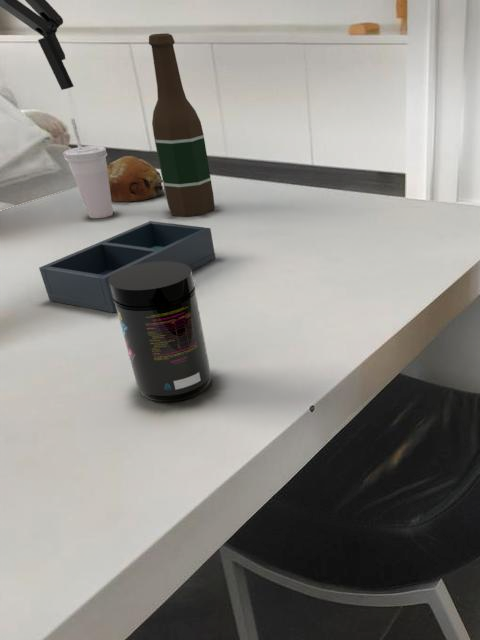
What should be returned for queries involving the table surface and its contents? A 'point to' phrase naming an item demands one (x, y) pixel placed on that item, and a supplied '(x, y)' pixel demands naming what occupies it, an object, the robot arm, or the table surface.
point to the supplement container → (162, 329)
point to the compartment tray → (123, 261)
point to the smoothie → (91, 176)
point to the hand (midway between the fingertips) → (27, 104)
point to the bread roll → (133, 180)
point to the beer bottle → (179, 137)
